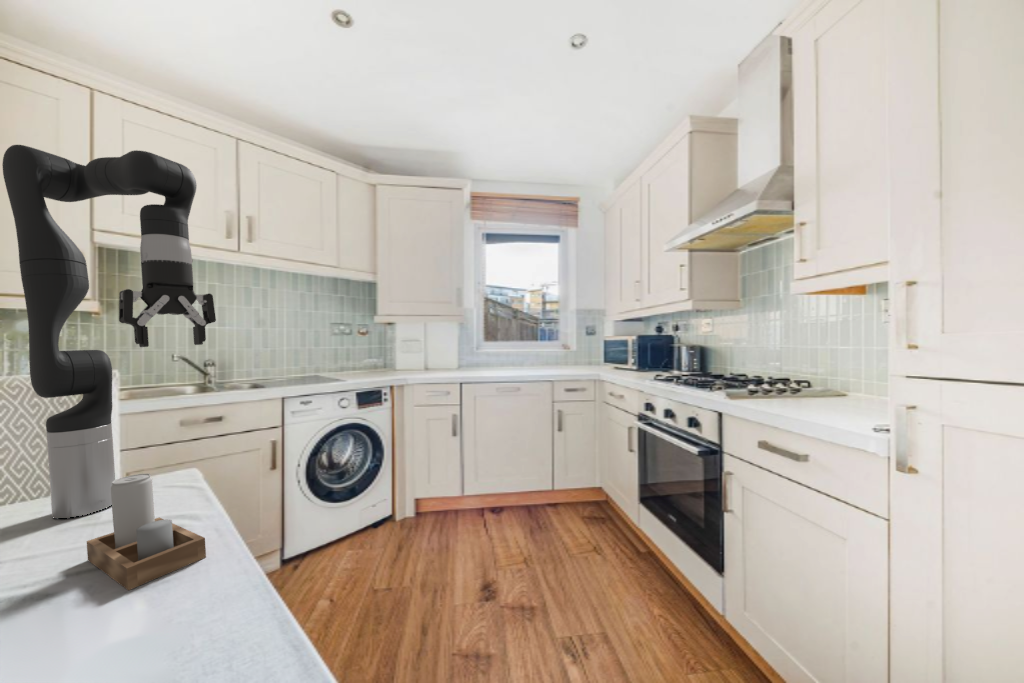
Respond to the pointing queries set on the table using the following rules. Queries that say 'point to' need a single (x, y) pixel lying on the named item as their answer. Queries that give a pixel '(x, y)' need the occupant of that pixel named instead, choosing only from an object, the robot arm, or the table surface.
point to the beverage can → (131, 506)
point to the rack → (134, 572)
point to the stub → (154, 538)
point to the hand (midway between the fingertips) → (172, 345)
